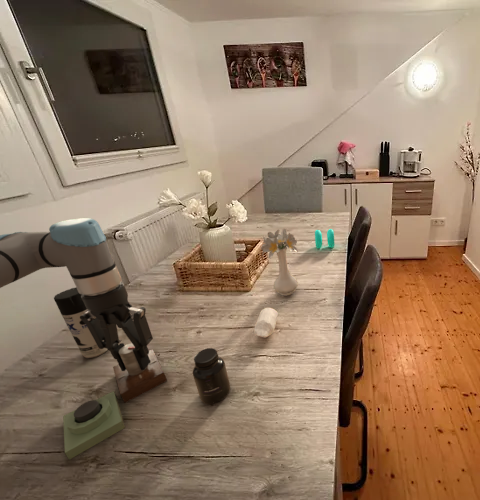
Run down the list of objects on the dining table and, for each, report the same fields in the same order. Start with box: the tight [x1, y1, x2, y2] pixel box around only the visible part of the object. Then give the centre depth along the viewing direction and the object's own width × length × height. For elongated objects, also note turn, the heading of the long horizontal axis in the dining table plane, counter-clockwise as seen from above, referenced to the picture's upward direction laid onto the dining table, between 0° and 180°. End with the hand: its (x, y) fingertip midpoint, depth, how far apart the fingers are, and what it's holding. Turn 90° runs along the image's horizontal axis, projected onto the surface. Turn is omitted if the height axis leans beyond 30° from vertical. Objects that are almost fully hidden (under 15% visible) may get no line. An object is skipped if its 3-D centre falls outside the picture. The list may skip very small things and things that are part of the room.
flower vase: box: [260, 228, 299, 297], centre depth 106 cm, size 13×18×25 cm
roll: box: [253, 307, 279, 338], centre depth 87 cm, size 6×12×6 cm, turn 5°
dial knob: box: [119, 342, 147, 375], centre depth 71 cm, size 4×4×7 cm
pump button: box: [74, 399, 101, 423], centre depth 60 cm, size 4×4×2 cm
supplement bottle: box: [192, 347, 231, 405], centre depth 66 cm, size 7×7×12 cm
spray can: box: [53, 287, 109, 359], centre depth 79 cm, size 7×7×20 cm
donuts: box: [314, 228, 335, 249], centre depth 150 cm, size 10×10×10 cm
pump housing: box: [62, 390, 126, 460], centre depth 61 cm, size 11×9×4 cm
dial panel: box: [112, 348, 168, 404], centre depth 73 cm, size 12×9×3 cm
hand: (136, 366), depth 72 cm, fingers closed on dial knob, 4 cm apart
